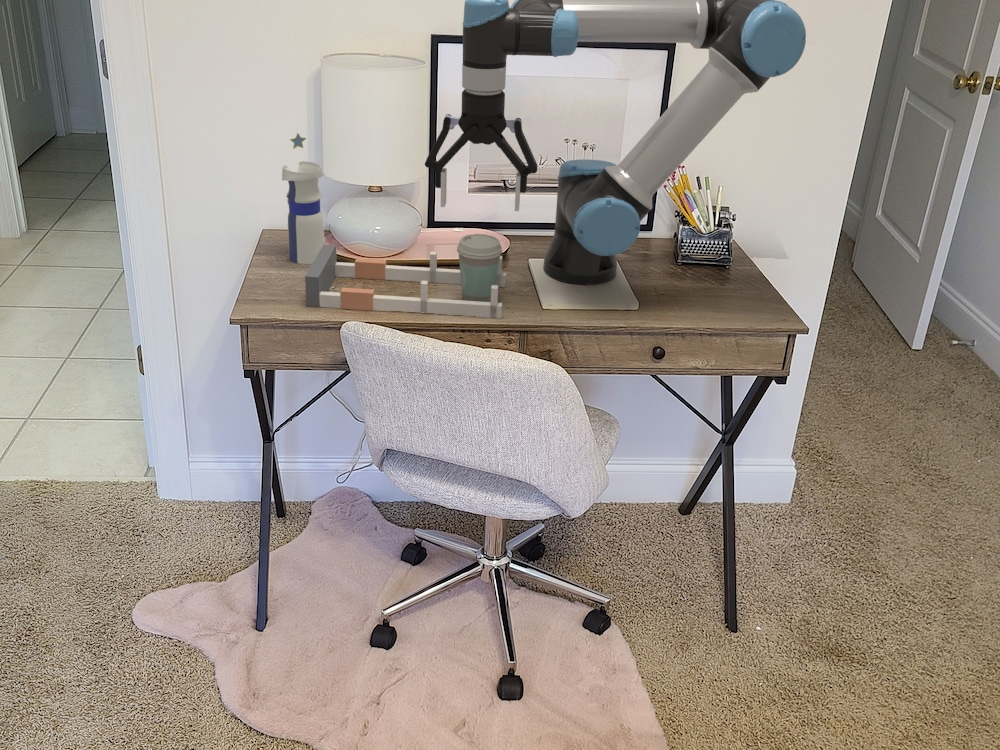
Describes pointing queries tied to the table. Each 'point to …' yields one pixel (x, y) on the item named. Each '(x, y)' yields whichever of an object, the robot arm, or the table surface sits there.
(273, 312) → the table surface
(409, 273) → the comb channel
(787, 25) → the robot arm
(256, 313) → the table surface
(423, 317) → the table surface
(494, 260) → the coffee cup
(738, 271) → the table surface
